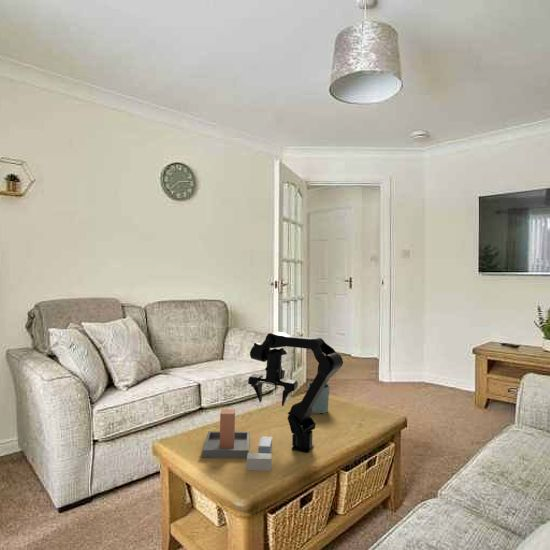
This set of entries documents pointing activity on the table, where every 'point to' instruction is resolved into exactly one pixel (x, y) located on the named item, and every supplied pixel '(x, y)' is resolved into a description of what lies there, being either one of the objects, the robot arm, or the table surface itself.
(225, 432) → the column
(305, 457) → the table surface
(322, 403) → the blue-grey bin
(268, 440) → the slate brick
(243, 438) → the tray
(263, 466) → the grey brick
